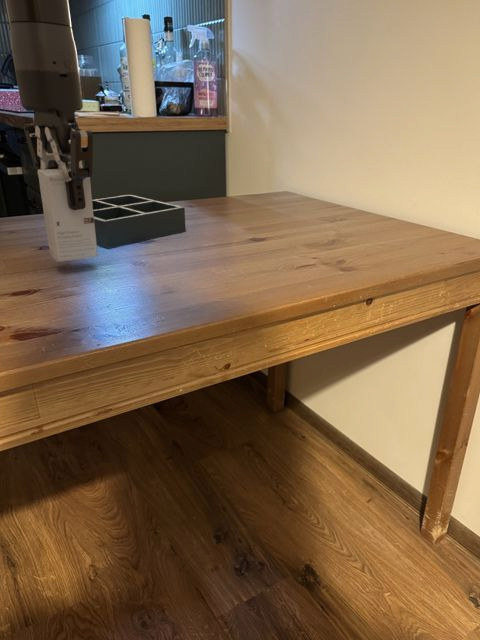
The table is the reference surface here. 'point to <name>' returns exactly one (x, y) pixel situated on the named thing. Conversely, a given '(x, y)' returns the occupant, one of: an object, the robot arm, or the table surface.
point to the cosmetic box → (67, 219)
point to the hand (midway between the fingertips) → (67, 205)
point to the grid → (134, 220)
